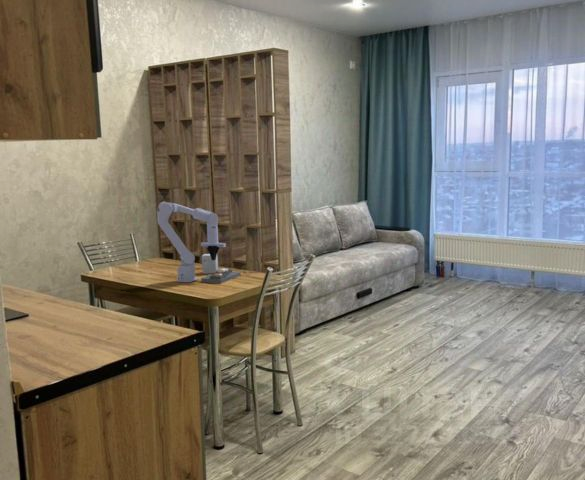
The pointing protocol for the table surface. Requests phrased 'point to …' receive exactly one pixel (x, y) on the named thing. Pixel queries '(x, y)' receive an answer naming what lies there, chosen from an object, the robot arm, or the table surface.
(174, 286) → the table surface
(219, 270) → the cream button
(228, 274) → the button panel
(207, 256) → the small box
